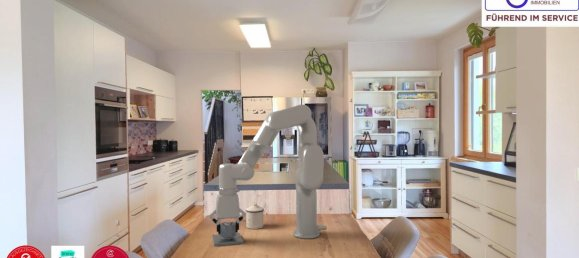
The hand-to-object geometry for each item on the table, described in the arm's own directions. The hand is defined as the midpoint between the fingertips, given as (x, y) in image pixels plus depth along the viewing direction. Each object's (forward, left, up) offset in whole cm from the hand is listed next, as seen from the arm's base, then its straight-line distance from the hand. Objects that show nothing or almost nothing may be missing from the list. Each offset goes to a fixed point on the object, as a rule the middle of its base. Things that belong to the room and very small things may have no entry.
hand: (227, 232), depth 144 cm
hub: (0, 0, -1) cm, 1 cm away
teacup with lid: (-14, -18, -4) cm, 23 cm away
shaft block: (0, 0, -4) cm, 4 cm away
